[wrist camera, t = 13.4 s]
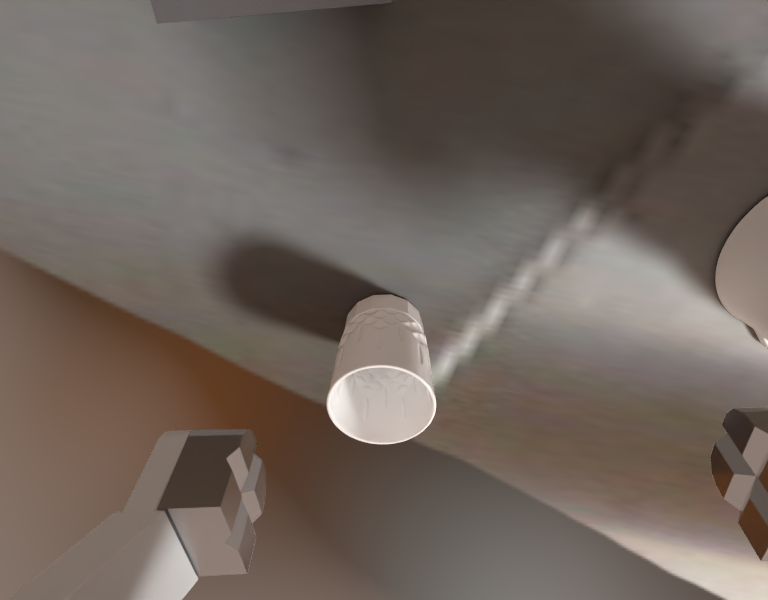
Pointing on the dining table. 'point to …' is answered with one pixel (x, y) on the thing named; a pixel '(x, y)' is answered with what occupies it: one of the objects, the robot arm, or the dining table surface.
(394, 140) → the dining table surface
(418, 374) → the white cup
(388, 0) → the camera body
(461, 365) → the dining table surface
